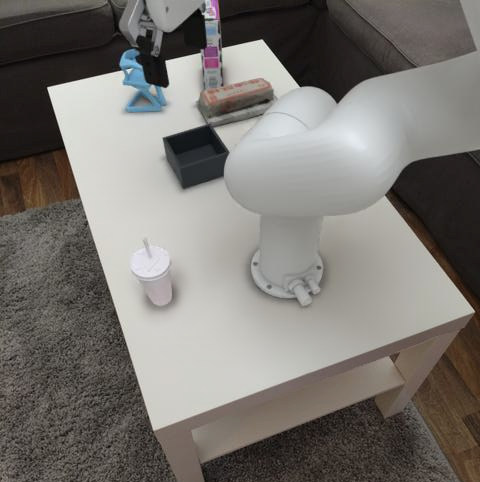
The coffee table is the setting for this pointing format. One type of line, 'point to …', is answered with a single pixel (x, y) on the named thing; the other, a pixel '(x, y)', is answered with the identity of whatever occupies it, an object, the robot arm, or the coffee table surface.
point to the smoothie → (153, 272)
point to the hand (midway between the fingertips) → (177, 65)
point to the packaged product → (236, 101)
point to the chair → (139, 84)
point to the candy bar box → (212, 48)
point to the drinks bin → (196, 155)
